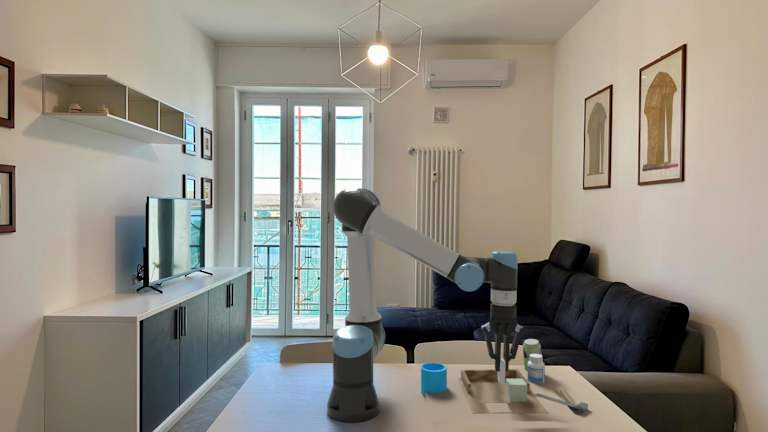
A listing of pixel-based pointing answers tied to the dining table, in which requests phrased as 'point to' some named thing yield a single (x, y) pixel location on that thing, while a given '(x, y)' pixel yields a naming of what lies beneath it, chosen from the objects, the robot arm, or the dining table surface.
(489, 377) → the cubby deck
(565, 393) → the dowel
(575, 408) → the crook tool
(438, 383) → the mug
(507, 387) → the block
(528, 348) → the beverage can
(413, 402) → the dining table surface
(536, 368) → the pill bottle
